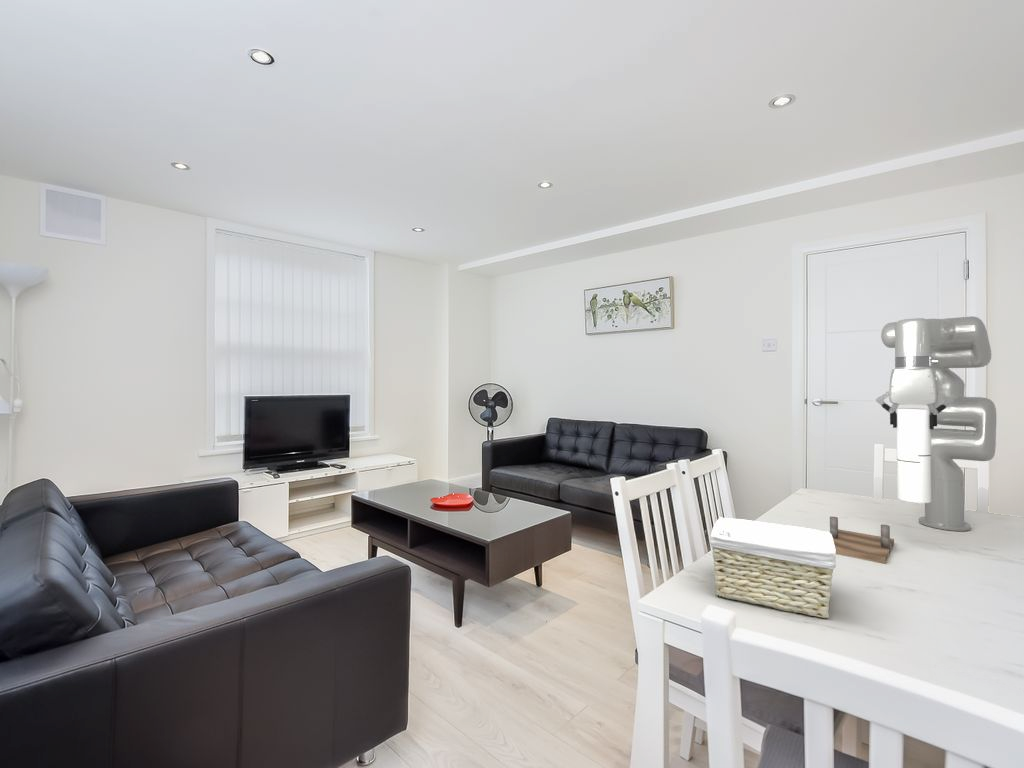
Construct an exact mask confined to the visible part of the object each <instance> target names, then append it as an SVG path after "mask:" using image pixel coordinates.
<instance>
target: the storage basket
mask: <svg viewBox="0 0 1024 768" xmlns="http://www.w3.org/2000/svg"><path fill="white" fill-rule="evenodd" d="M709 546H710V547H711V548H712V558H713V570H714V571H713V574H714V575H713V577H714V584H715V595H716V594H717V595H716V596H718V595H719V596H718V597H721V596H722V597H721V598H724V597H725V598H726V599H730V600H737V601H740V602H741V601H742V602H746V603H750V604H752V605H754V604H755V605H760V606H761V605H762V606H765V607H768V608H769V607H771V608H772V609H775V610H780V611H784V612H793V613H795V614H796V613H798V614H799V613H800V614H804V615H807V616H812V617H813V616H814V617H817V618H821V619H829V617H830V615H829V608H830V607H829V605H830V601H831V589H832V586H833V583H832V579H833V574H834V569H836V566H837V561H836V558H837V557H836V555H837V554H836V549H835V545H834V540H833V537H832V535H831V533H830V531H823V530H819V529H814V528H807V527H800V526H793V525H786V524H785V525H784V524H778V523H770V522H765V521H764V522H763V521H756V520H750V519H749V520H748V519H743V518H742V519H741V518H731V517H730V518H729V517H719V518H718V519H717V520H716V521H715V523H714V525H713V527H712V529H711V533H710V541H709Z"/></svg>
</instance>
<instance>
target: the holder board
mask: <svg viewBox="0 0 1024 768" xmlns="http://www.w3.org/2000/svg"><path fill="white" fill-rule="evenodd" d="M829 533H831V535H832V537H833V540H834V545H835V549H836V555H841V556H846V557H849V558H850V557H851V558H855V559H860V560H864V561H870V562H874V563H875V562H876V563H880V564H887V561H888V559H889V557H890V554H891V553H892V550H893V547H894V545H895V539H894V538H891V526H890V525H888V524H880V536H879V535H873V534H867V533H862V532H856V531H850V530H845V529H840V528H839V517H837V516H829Z"/></svg>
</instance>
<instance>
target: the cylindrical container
mask: <svg viewBox="0 0 1024 768" xmlns="http://www.w3.org/2000/svg"><path fill="white" fill-rule="evenodd" d="M896 414H897V427H896V486H897V487H896V493H897V494H896V495H897V496H896V498H897V499H898V500H901V501H903V502H910V503H916V504H917V503H918V504H919V503H920V504H925V503H930V502H931V429H930V409H929V408H919V407H918V408H917V407H916V408H914V407H913V408H911V407H910V408H909V407H908V408H906V407H900V408H899V407H897V409H896Z"/></svg>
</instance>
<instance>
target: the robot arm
mask: <svg viewBox="0 0 1024 768" xmlns="http://www.w3.org/2000/svg"><path fill="white" fill-rule="evenodd" d="M880 337H881V341H882V343H883V345H884V346H885V347H887V348H891V349H893V348H894V369H891V371H890V372H891V374H890V378H889V390H888V391H885V392H884V393H883V394H881V395H880V396H878V397H877V398H876V399H875V401H876V402H877V404H879V405H880V406H881V407H882V408H883V409H884V410H885V411H886V412H888V413H889V424H890V425H892V428H893V429H897V409H898V408H899V406H900V405H901V406H903V405H905V406H927V409H930V429H931V502H930V503H924V516H921V517H918V522H919V523H920V524H921V525H924V526H927V527H930V528H933V529H937V530H945V531H954V532H968V531H970V530H971V529H972V525H971V524H970V523H968V522H965V475H964V474H965V473H964V472H963V469H962V468H961V467H960V465H958V464H957V463H956V462H955V460H963V461H974V462H976V461H977V462H988V461H991V460H993V459H994V457H995V455H996V448H997V447H996V445H997V443H996V441H997V408H996V404H995V403H994V401H993V400H991V399H990V398H987V397H981V396H978V397H977V396H965V389H966V387H965V385H966V384H965V382H964V380H963V379H962V378H961V377H960V375H958V374H956V373H955V372H954V371H953V370H952V369H973V368H974V369H975V368H976V369H977V368H984V367H986V366H988V364H989V363H990V362H991V360H992V350H991V349H992V348H991V345H990V339H989V334H988V331H987V328H986V325H985V324H984V322H983V320H982V319H980V318H979V317H977V316H962V317H950V318H949V317H948V318H923V317H922V318H921V317H920V318H918V317H917V318H907V319H906V318H905V319H900V320H898V321H894V322H893V321H892V322H888V323H886V324H885V325H884V326H883V328H882V329H881V334H880ZM887 398H888V399H889V402H890V403H891V404H892V405H891V406H890V405H889V404H887V403H886V401H885V400H886V399H887ZM938 425H940V426H949V427H950V426H952V427H969V428H970V427H971V428H973V430H972V429H957V428H944V427H943V428H942V427H941V428H940V427H938ZM937 427H938V428H937Z"/></svg>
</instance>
